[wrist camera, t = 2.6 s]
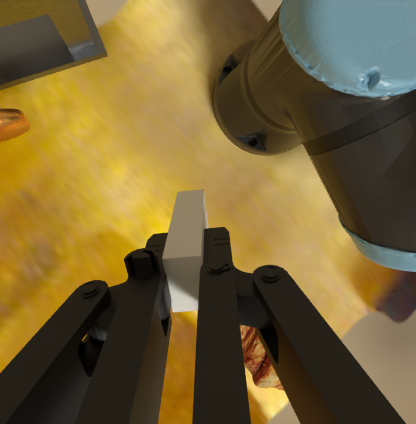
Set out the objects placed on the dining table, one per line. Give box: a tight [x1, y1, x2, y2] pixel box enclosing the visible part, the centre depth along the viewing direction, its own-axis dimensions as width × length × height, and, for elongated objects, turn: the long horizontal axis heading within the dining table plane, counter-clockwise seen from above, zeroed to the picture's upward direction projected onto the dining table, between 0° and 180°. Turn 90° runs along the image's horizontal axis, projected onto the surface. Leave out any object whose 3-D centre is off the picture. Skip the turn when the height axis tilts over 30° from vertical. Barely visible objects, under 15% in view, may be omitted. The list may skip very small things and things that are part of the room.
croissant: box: [240, 325, 284, 390], centre depth 43 cm, size 21×10×8 cm, turn 50°
